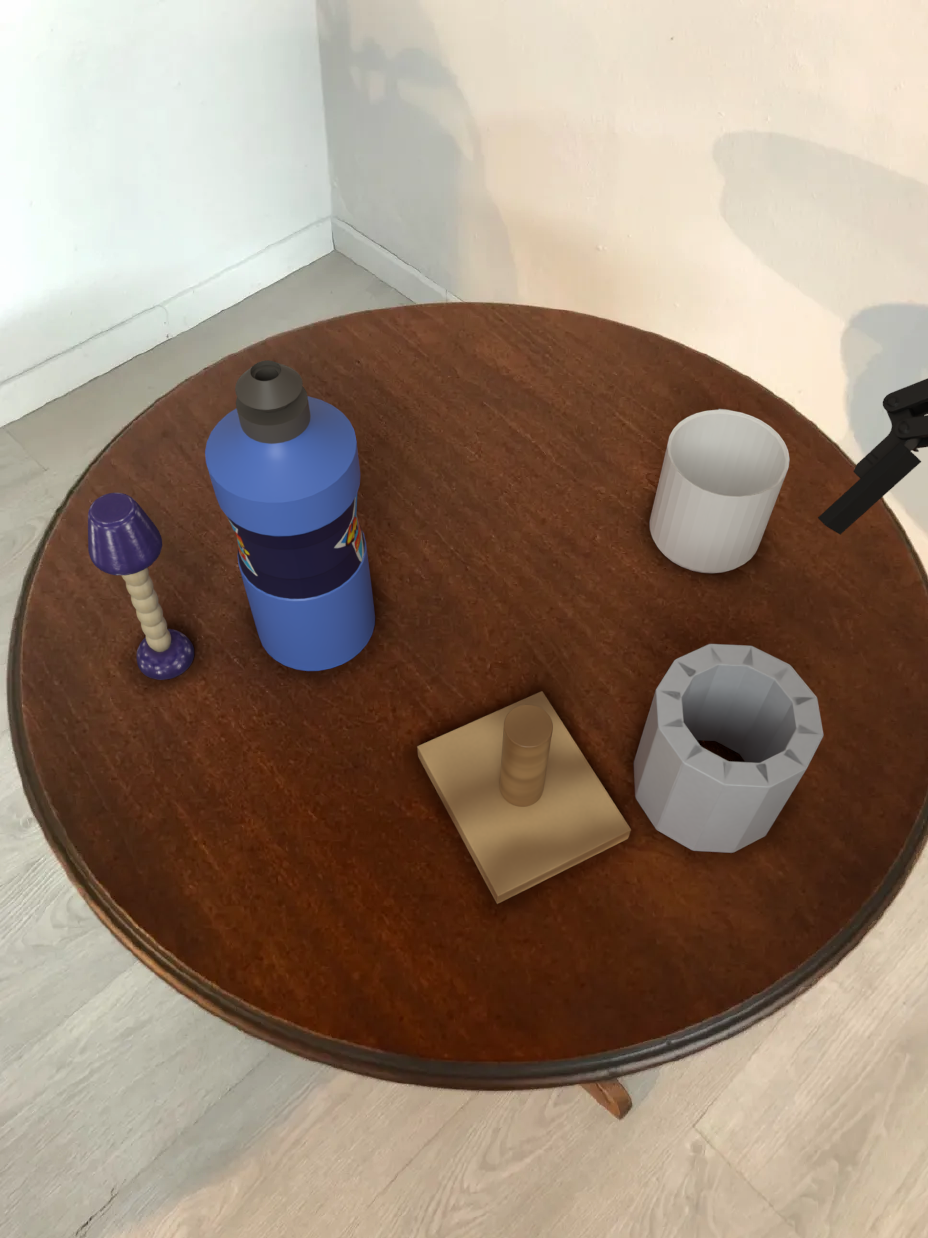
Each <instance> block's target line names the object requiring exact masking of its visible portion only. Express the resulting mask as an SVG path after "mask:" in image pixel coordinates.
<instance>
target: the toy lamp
mask: <svg viewBox="0 0 928 1238" xmlns="http://www.w3.org/2000/svg"><path fill="white" fill-rule="evenodd" d="M89 506H90V507H89V508H88V513H87V550H88V555H89V559H90V561H91V562H92V563H93V565H94V566H95V567H96V568H97V569H98V570H100V571H101V572H103V573H106V574H108V575H110V576H111V575H112V576H121V578H122V579H123V580H124V582H125V588H126V590H127V592H128V594H129V595H130V601H131V605H132V606H133V607H134V609H135V612H136V613H135V614H136V617H137V620H138V621H139V622H140V627H141V631H142V632H143V634H144V635H145V637H144V638H143V639H142V640H141V641H140V643H139V644H138V647H137V650H136V663H137V667H138V669H139V671H140V673H142V674H143V675H144V676H145V677H148V678H150V679H153V680H158V681H164V680H172V679H174V678H177V677H179V676H181V675H182V674H183V673H185V672H186V671H187V670H188V669H189V668H190V667H191V665H192V663H193V661H194V660H195V659H194V658H195V648H194V645H193V643H192V641H191V640H190V639H189V637H187V635H185V634H184V633H182V632H181V631H178V630H176V629H173V628H172V629H171V628H168V622H167V620H166V618H165V617H164V611H163V607H162V606H161V604H160V603H159V596H158V592H157V591H156V590H155V589H154V588H155V587H154V582H153V579H152V578H151V576H150V570H149V567H151V566H152V565H153V564H154V563H155V562H156V561H157V560H158V558H159V557H160V555H161V552H162V548H163V537H162V535H161V532H160V530H159V528H158V527H157V526H156V524H155V523H154V522H153V520H152V519H151V518H150V516H149V515H148V513H146V512H145V510H144V509H143V508H142V506H141V505H140V504H139V503H138V502H137V501H136V500H135V498H133V497H132V496H130V495H128V494H127V493H122V492H109V493H104V494H103V495H101V496H99V497H97V498H96V499H95V500H94V501H93V502H92V503H91V505H89Z"/></svg>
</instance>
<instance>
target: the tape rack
mask: <svg viewBox="0 0 928 1238" xmlns="http://www.w3.org/2000/svg"><path fill="white" fill-rule="evenodd" d="M416 748H417V757H418V759H419V761H420V763H421V765H422V767H423V768H424V771H425V773H426V775H427V776H428V778H429V780H430V782H431V783H432V785H433V787H434V789H435V790H436V794H437V795H438V796H439V799H440V800H441V802H442V804H443V806H444V809H445V810H446V811H447V814H448V816H449V817H450V819H451V821H452V823H453V825H454V826H455V828H456V831H457V832H458V834H459V836H460V838H461V840H462V841H463V843H464V845H465V847H466V849H467V852H469V854H470V856H471V858H472V860H473V862H474V864H475V865H476V867H477V869H478V871H479V873H480V875H481V877H482V878H483V881H484V883H485V884H486V886H487V888H488V890H489V892H490V893H491V895H492V897H493V899H494V901H495V903H496V904H497V905H498V904H500V903H502V902H504V901H506V900H508V899H510V898H512V897H514V896H516V895H518V894H520V893H523V892H524V891H526V890H529V889H530V888H532V887H535V886H536V885H538V884H541V883H542V882H544V881H546V880H548V879H551V878H552V877H554V876H556V875H558V874H560V873H562V872H564V871H566V870H568V869H570V868H572V867H575V866H576V865H579V864H581V863H582V862H584V861H587V860H588V859H590V858H592V857H594V856H596V855H598V854H600V853H603V852H605V851H607V850H609V849H611V848H612V847H614V846H616V845H619V844H620V843H622V842H624V841H627V840H628V839H629V837H630V835H631V831H632V829H631V827H630V825H629V824H628V822H627V821H626V819H625V818H624V816H623V815H622V813H621V812H620V810H619V809H618V807H617V805H616V804H615V802H614V801H613V799H612V797H611V796H610V794H609V793H608V791H607V790H606V789H605V786H604V785H603V784H602V782H601V780H600V779H599V777H598V775H597V774H596V773H595V771H594V770H593V768H592V766H591V765H590V763H589V762H588V760H587V759H586V757H585V755H584V754H583V752H582V751H581V749H580V747H579V746H578V745H577V743H576V741H575V739H574V738H573V736H572V735H571V734H570V732H569V730H568V729H567V727H566V726H565V724H564V723H563V721H562V720H561V718H560V717H559V715H558V713H557V712H556V710H555V709H554V707H553V706H552V703H551V702H550V701H549V699H548V698H547V696H546V694H545V693H544V692H543V691H539V692H537V693H533V694H532V695H530V696H528V697H525V698H523V699H521V700H519V701H516V702H514V703H512V704H510V705H508V706H504V707H503V708H500V709H498V710H496V711H494V712H491V713H489V714H487V715H485V716H482V717H479V718H478V719H475V720H473V721H471V722H468V723H467V724H464V725H462V726H460V727H458V728H455V729H453V730H450V731H448V732H446V733H444V734H441V735H440V736H437V737H435V738H433V739H431V740H428V741H427V742H426V741H425V742H424V743H422V744H419V745H416Z"/></svg>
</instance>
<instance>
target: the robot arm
mask: <svg viewBox="0 0 928 1238" xmlns="http://www.w3.org/2000/svg"><path fill="white" fill-rule="evenodd" d="M882 407H883V409H884V410H885V411H886V414H887V416H888V418H889V420H890V423H891V429H890V431H889V433H888V434H887V435H886V437H884V438H883V439H882V440H881V441H880V442H879V443H878V444H877V445H876V446H874V447H873V449H871V450H870V451H869V452H868V453H867V454H866V455H865V456H864V457H863V458H862V459H861V460H859V461H858V462H857V464H856V466H855V467H854V469H853V473H854V474H855V475H856V476H857V477H858V480H857V481H856V482H855V483H854V484H853V485H851V486H850V488H848V489H847V490H846V491H845V492H844V493H843V494H842V495H840V496H839V497H838V499H836V500H835V501H834V502H833V503H832V504H831V505H830V506H829V507H828V508H826V509H825V510H824V511H823V512H822V513H821V514H820V515H819V516H818V517H817V518H818V520H819V521H820V522H821V523H822V524H823V525H824V526H825V527H827V529H830V530H831V531H833V532H835V533H837V534H838V535H842V534H843V533H844V532H845V531H847V529H848V528H850V527H851V526H852V525H853V524H854V523H856V521H858V519H860V518H861V517H862V516H863V515H865V513H867V511H869V509H871V508H872V507H874V505H875V504H876V503H877V502H879V501H880V499H882V498H883V497H884V496H885V495H887V493H888V492H890V491H891V490H892V489H893V488H894V487H895V486H897V484H898V483H900V482H901V481H902V480H904V478H905V477H906V476H907V475H909V474H910V473H911V472H912V471H913V470H914V469H916V468H917V466H918V465H920V464H921V463H922V460H921V459H920V458H919V457H917V455H916V454H915V453H919V452H920V450H919V449H923V448H928V378H925V379H922V380H919V381H917V382H915V383H912V384H909V385H907V386H905V387H904V386H903V387H901V388H900V389H896V390H894V391H892V392H890V393H888V394H886V396H885V397H884V398H883V400H882ZM912 451H913V452H914V453H913V452H912Z"/></svg>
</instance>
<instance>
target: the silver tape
mask: <svg viewBox="0 0 928 1238" xmlns="http://www.w3.org/2000/svg"><path fill="white" fill-rule="evenodd" d="M823 738H824V729H823V724H822V718H821V712H820V707H819V700H818V697H817V695H816V694H815V693H814V691H812V689H811V688H810V687H809V686H808V685H807V683H806V682H805V680H803V678H802V677H801V676H800V674H798V672H797V671H796V670H795V669H794V668H793V666H792V665H791V664H789V663H787V662H785V661H784V660H781V659H780V658H778V657H776V656H773V655H771V654H769V653H767V652H765V651H763V650H761V649H759V648H757V647H755V646H753V645H743V644H723V643H721V644H720V643H708V644H706V645H703V646H702V647H700V648H697V649H695V650H693V651H691V652H688V653H686V654H684V655H682V656H680V657H677V658H676V659H674V660H673V662H672V663H671V665H670V666H669V667H668V670H667V671H666V673H665V675H664V676H663V677H662V679H661V681H660V682H659V684H658V686H657V687H656V689H655V691H654V695H653V698H652V700H651V704H650V708H649V712H648V715H647V718H646V721H645V723H644V727H643V731H642V733H641V737H640V740H639V744H638V747H637V751H636V754H635V756H634V759H633V782H634V783H633V784H634V797H635V800H636V801H637V803H638V804H639V806H640V807H641V809H642V810H643V812H644V813H645V815H646V816H647V818H648V820H649V821H650V822H651V824H652V826H653V827H654V829H655V830H656V831H658V832H660V833H661V834H663V836H664V835H665V836H666V837H667V838H670V839H671V840H673V841H675V842H677V843H678V844H680V845H681V846H684V847H686V848H687V849H689V850H690V851H694V852H708V853H709V852H710V853H711V852H712V853H730V854H732V853H733V854H734V853H735V852H737V851H740V850H741V849H744V848H745V847H747V846H748V845H751V844H753V843H755V842H756V841H759V840H761V839H762V838H765V837H766V836H767V835H768V833H769V831H770V830H771V828H772V826H773V825H774V823H775V821H776V820H777V818H778V816H779V815H780V813H781V812H782V810H783V808H784V807H785V805H786V804H787V802H788V800H789V798H790V797H791V795H792V793H793V792H794V791H795V789H796V787H797V785H798V784H799V782H800V780H801V779H802V777H803V776H804V774H805V773H806V771H807V769H808V767H809V766H810V763H811V761H812V759H813V757H814V755H815V754H816V752H817V749H818V748H819V745H820V744H821V741H822V740H823ZM699 741H707V742H708V741H709V742H716V743H718V744H720V745H721V746H724V747H726V748H727V749H730V750H731V751H733V752H735V753H737V754H738V755H739V756H740V757H741V758H742V760H743V761H733V760H732V761H731V760H730V761H729V760H727V759H725V758H723V757H722V756H720V755H718V754H716V753H714V752H712V751H710V750H709V749H706V748H705V747H703V746H702V745H700V743H699Z"/></svg>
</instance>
